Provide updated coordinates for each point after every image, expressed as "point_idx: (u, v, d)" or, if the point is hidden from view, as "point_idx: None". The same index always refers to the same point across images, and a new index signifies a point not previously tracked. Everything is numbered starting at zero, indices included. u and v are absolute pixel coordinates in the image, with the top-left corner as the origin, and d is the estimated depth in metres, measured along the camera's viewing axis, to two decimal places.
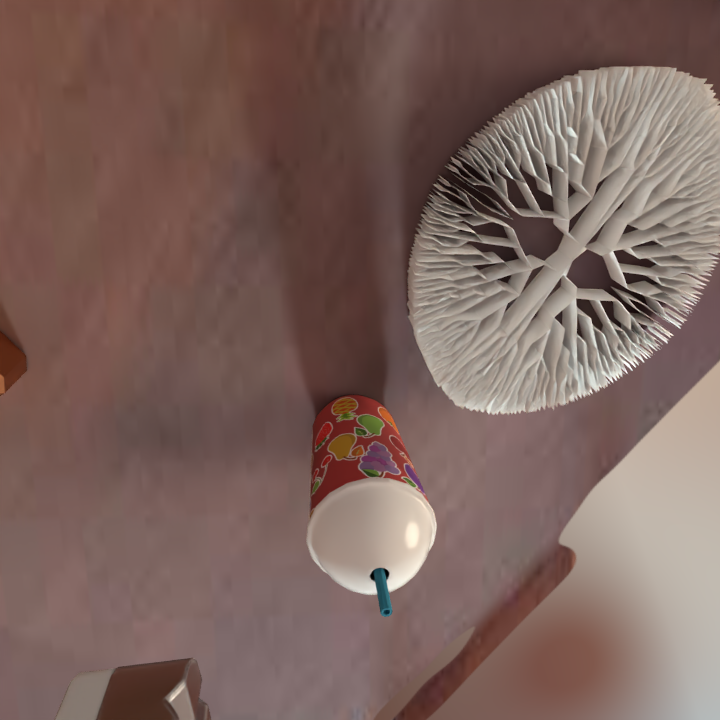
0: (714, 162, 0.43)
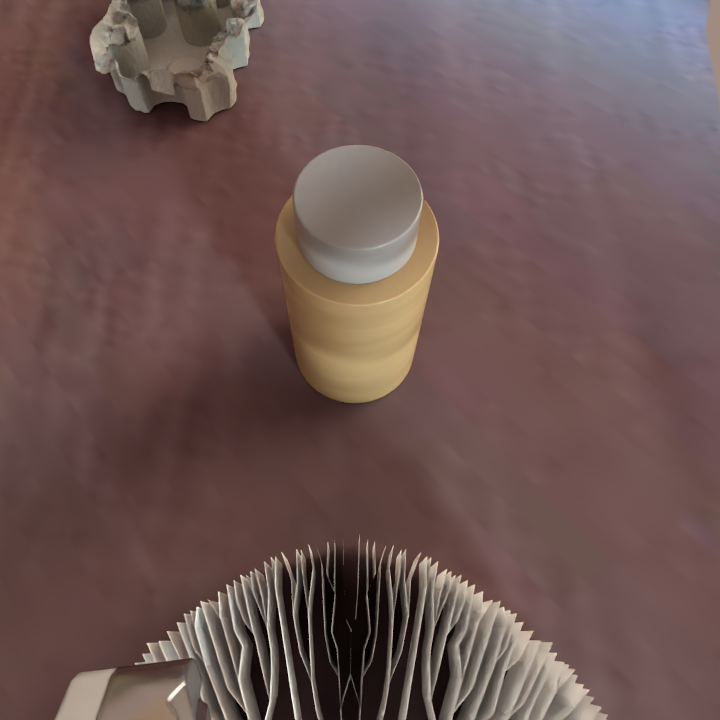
0: (474, 631, 0.22)
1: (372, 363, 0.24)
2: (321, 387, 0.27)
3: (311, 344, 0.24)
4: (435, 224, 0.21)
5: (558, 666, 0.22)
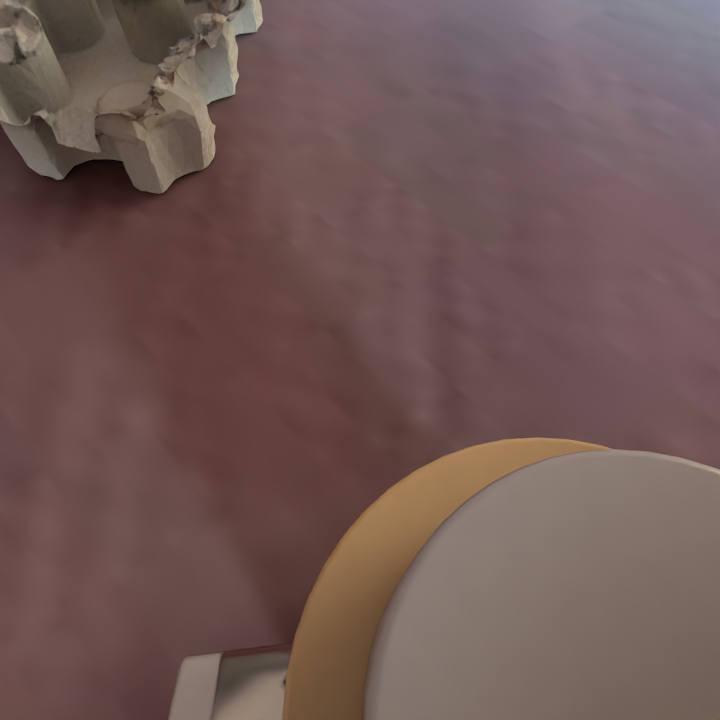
0: None
1: None
2: None
3: None
4: None
5: None
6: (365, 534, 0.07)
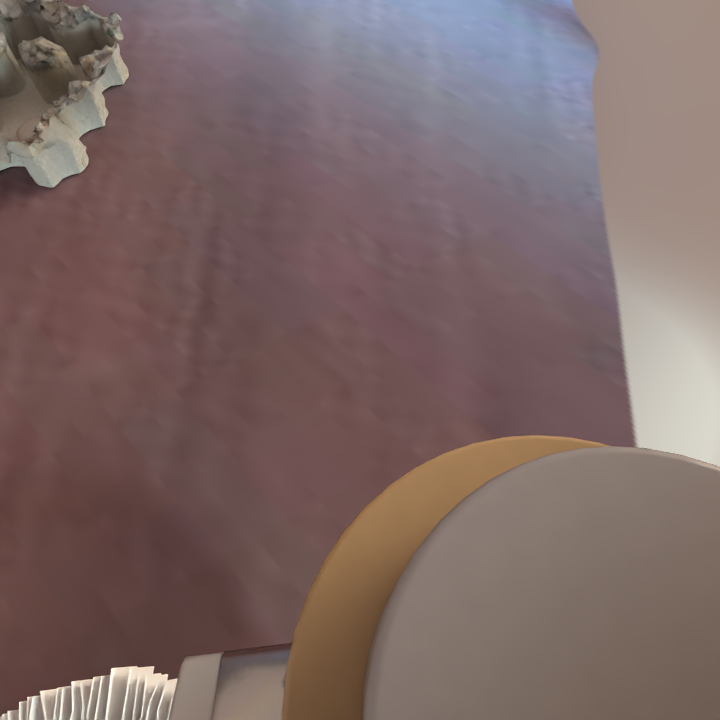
0: None
1: None
2: None
3: None
4: None
5: None
6: (364, 532, 0.07)
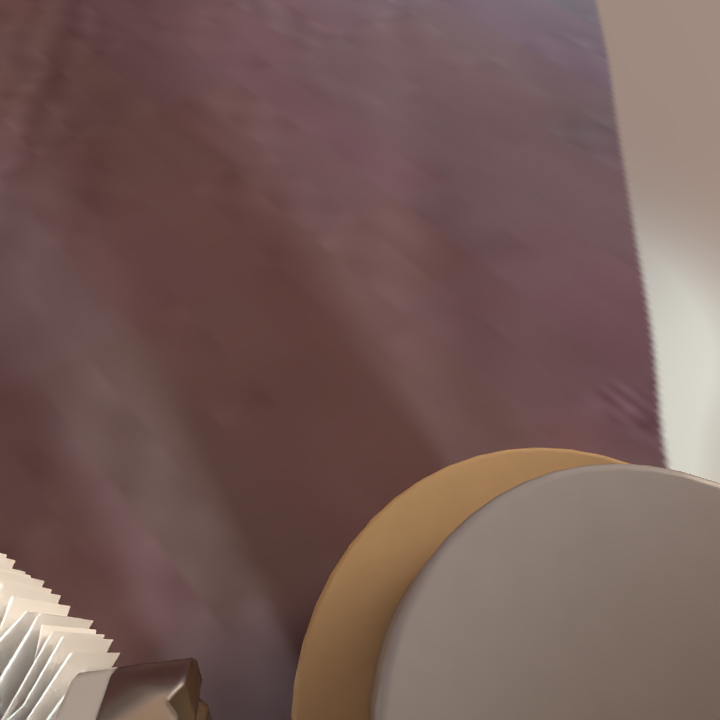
0: None
1: None
2: None
3: None
4: None
5: None
6: (371, 544, 0.07)
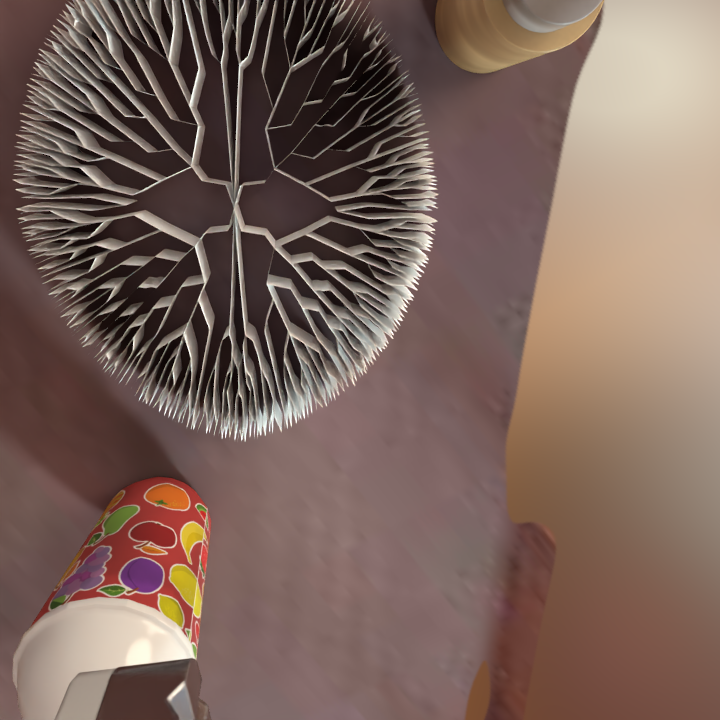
0: None
1: (515, 63, 0.31)
2: (457, 61, 0.34)
3: (474, 48, 0.30)
4: None
5: (373, 19, 0.32)
6: None
